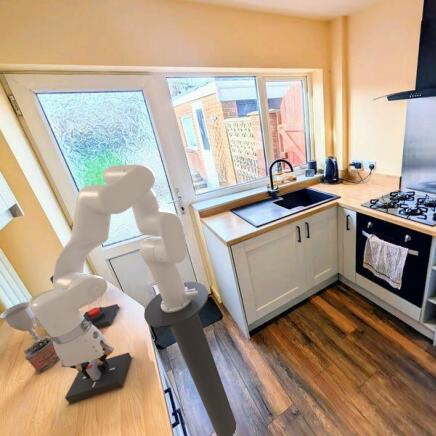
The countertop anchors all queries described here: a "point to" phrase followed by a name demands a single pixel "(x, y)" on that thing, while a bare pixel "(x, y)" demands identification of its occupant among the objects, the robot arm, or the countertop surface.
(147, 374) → the countertop surface
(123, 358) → the control panel
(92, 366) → the knob
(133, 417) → the countertop surface
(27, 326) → the chalice
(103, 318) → the base
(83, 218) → the robot arm
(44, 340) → the brick-red planter box
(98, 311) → the power button
